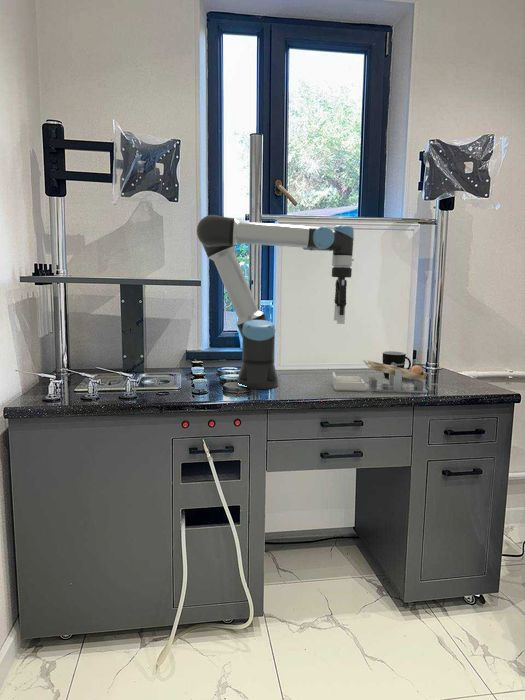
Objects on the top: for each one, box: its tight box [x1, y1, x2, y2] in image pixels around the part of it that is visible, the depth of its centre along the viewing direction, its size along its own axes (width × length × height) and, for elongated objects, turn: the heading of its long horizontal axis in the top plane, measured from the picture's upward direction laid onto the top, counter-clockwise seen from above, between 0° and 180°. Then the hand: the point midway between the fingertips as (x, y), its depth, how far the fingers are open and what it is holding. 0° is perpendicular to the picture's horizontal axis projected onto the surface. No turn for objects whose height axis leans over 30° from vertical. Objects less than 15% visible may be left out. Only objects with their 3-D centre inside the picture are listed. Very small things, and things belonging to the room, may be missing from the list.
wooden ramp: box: [363, 359, 428, 383], centre depth 189 cm, size 20×16×4 cm
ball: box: [410, 364, 424, 375], centre depth 184 cm, size 4×4×4 cm
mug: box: [382, 350, 412, 379], centre depth 206 cm, size 12×9×10 cm
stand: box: [365, 365, 429, 394], centre depth 185 cm, size 21×11×8 cm, turn 87°
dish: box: [331, 371, 368, 392], centre depth 186 cm, size 11×11×4 cm
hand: (339, 322), depth 199 cm, fingers open, 13 cm apart
